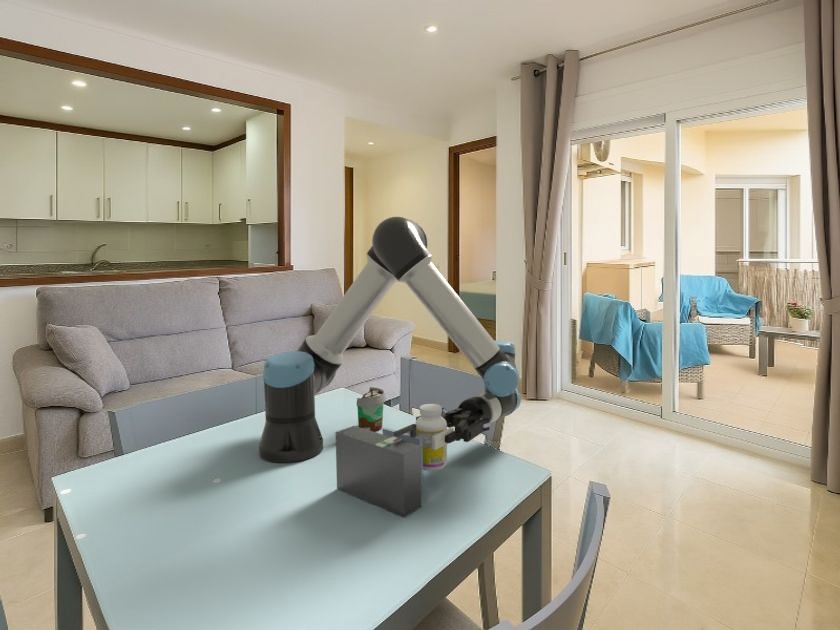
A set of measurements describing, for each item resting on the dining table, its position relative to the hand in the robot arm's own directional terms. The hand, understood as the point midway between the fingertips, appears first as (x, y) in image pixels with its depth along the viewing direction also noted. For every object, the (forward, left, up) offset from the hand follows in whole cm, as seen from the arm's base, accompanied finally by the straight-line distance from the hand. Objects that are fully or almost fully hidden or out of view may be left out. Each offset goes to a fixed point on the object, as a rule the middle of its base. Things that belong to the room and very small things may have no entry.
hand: (419, 439), depth 103 cm
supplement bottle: (0, +4, -7) cm, 8 cm away
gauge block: (-3, -9, -10) cm, 14 cm away
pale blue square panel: (-3, -4, -9) cm, 10 cm away
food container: (-31, +19, -10) cm, 38 cm away
